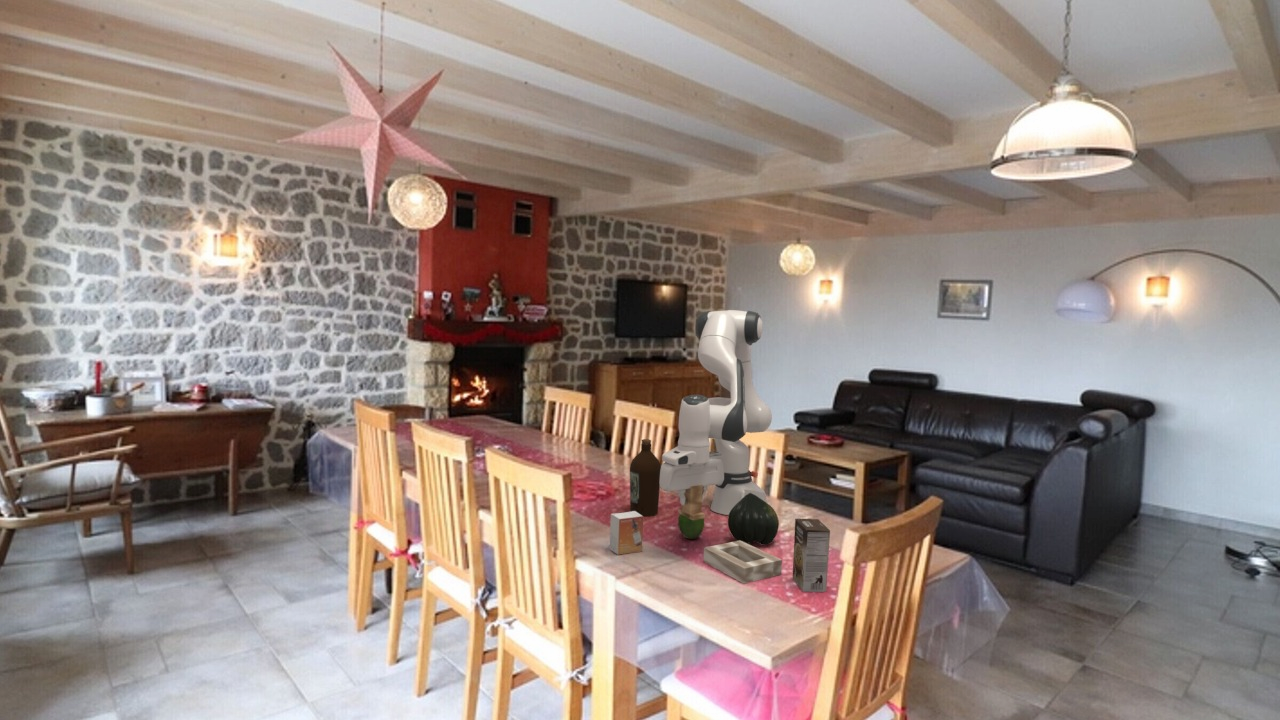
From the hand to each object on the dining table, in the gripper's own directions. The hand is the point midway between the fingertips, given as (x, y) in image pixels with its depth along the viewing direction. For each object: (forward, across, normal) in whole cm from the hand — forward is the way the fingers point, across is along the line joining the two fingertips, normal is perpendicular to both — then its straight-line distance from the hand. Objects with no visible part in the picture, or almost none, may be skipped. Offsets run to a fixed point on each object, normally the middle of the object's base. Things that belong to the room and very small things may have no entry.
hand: (691, 502), depth 193 cm
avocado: (+16, -10, -13) cm, 23 cm away
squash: (+16, -25, -2) cm, 30 cm away
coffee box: (+16, -16, +30) cm, 37 cm away
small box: (+16, +13, -13) cm, 24 cm away
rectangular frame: (+16, -8, +13) cm, 22 cm away
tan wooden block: (+4, 0, 0) cm, 4 cm away
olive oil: (+16, -11, -41) cm, 45 cm away
